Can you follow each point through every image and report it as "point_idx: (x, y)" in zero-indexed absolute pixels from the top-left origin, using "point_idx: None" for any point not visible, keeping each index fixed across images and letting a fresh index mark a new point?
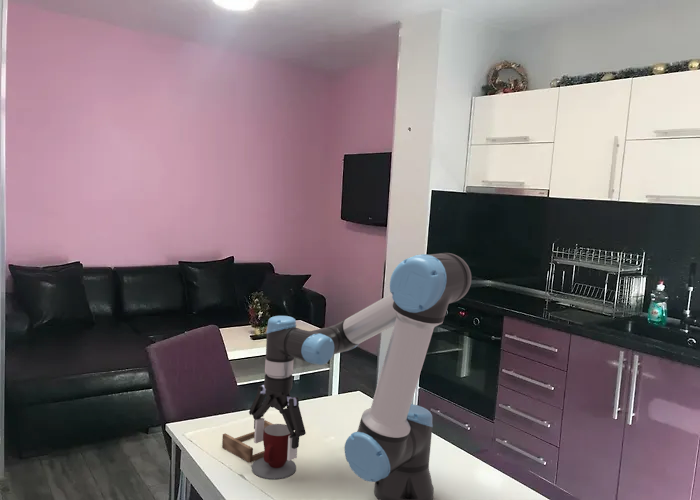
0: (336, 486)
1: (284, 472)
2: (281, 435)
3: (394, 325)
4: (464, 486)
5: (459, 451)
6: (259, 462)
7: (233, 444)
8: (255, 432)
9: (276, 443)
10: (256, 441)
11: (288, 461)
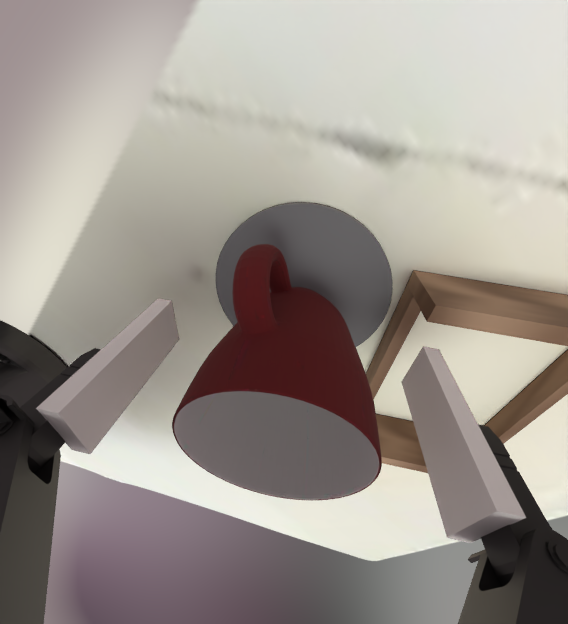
0: (96, 314)
1: None
2: (313, 430)
3: None
4: None
5: (121, 479)
6: (368, 289)
7: None
8: (456, 402)
9: (219, 351)
10: (424, 357)
11: None
